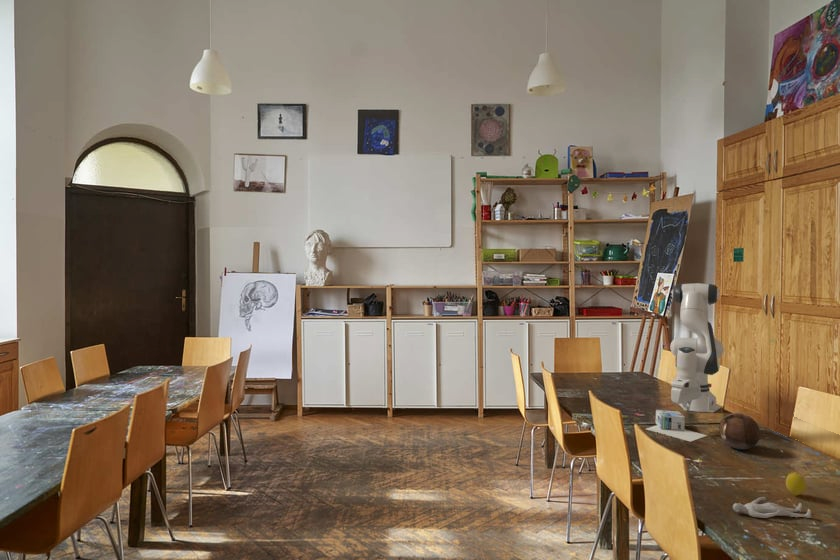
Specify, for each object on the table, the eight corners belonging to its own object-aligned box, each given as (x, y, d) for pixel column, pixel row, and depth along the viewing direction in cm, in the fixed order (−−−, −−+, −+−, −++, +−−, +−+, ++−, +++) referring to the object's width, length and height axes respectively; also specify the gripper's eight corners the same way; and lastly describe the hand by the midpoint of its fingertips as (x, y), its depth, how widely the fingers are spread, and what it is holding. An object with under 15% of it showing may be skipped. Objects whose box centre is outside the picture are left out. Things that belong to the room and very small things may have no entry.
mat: (662, 424, 255) (662, 423, 255) (707, 436, 236) (707, 435, 236) (645, 429, 247) (645, 428, 247) (691, 441, 229) (690, 441, 229)
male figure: (816, 511, 156) (742, 509, 157) (816, 523, 156) (742, 522, 158) (794, 496, 166) (724, 495, 168) (794, 508, 166) (724, 506, 168)
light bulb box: (685, 417, 243) (660, 415, 245) (684, 431, 243) (660, 429, 245) (678, 411, 253) (655, 409, 256) (678, 424, 254) (655, 422, 256)
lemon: (781, 492, 177) (781, 469, 177) (796, 491, 178) (796, 469, 177) (794, 499, 172) (794, 476, 171) (809, 498, 172) (810, 475, 172)
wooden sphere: (754, 444, 225) (754, 410, 225) (764, 456, 211) (765, 420, 210) (715, 440, 230) (715, 407, 230) (723, 452, 216) (723, 417, 215)
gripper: (691, 377, 254) (691, 405, 255) (668, 382, 243) (668, 411, 243) (704, 380, 249) (704, 408, 249) (681, 385, 238) (681, 414, 238)
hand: (686, 410), depth 246 cm, fingers closed
